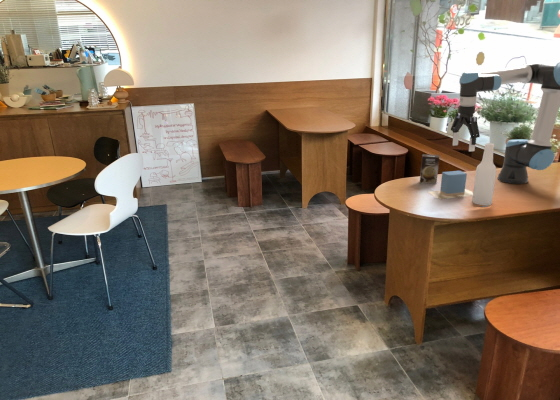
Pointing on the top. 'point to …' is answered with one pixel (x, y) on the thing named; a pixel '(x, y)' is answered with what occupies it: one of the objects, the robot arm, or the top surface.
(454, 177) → the block
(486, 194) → the alcohol
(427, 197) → the top surface
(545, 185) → the top surface
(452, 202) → the top surface
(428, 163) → the coffee box
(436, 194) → the board
